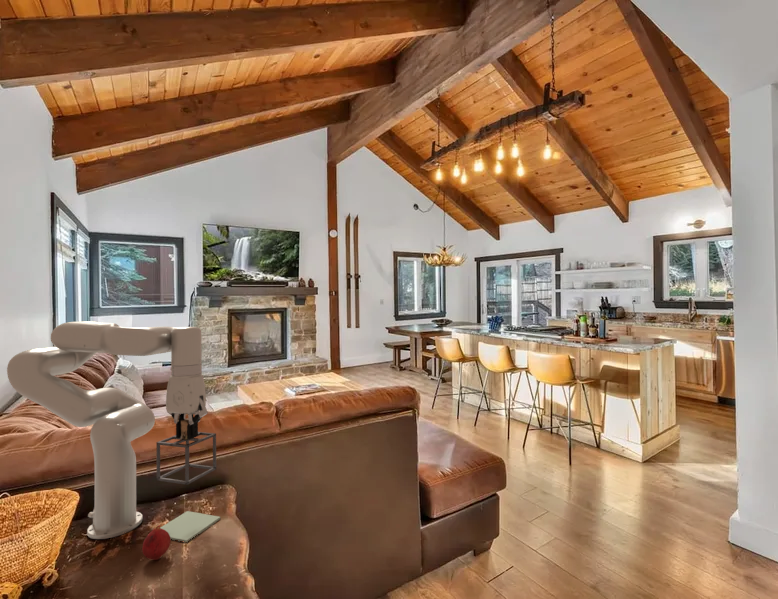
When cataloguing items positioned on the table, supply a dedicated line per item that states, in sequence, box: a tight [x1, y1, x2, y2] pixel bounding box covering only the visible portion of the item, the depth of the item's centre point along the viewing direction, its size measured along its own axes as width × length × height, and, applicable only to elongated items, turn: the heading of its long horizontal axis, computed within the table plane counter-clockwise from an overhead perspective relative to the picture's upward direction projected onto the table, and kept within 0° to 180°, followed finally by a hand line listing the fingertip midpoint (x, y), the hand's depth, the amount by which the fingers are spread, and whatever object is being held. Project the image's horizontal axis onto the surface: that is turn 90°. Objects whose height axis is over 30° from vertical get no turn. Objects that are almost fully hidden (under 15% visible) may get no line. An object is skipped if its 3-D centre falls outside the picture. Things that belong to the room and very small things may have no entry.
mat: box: [160, 510, 221, 543], centre depth 107 cm, size 12×12×1 cm
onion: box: [141, 524, 172, 561], centre depth 93 cm, size 6×6×8 cm
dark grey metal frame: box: [155, 417, 217, 486], centre depth 108 cm, size 10×10×15 cm
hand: (187, 436), depth 108 cm, fingers closed on dark grey metal frame, 3 cm apart
